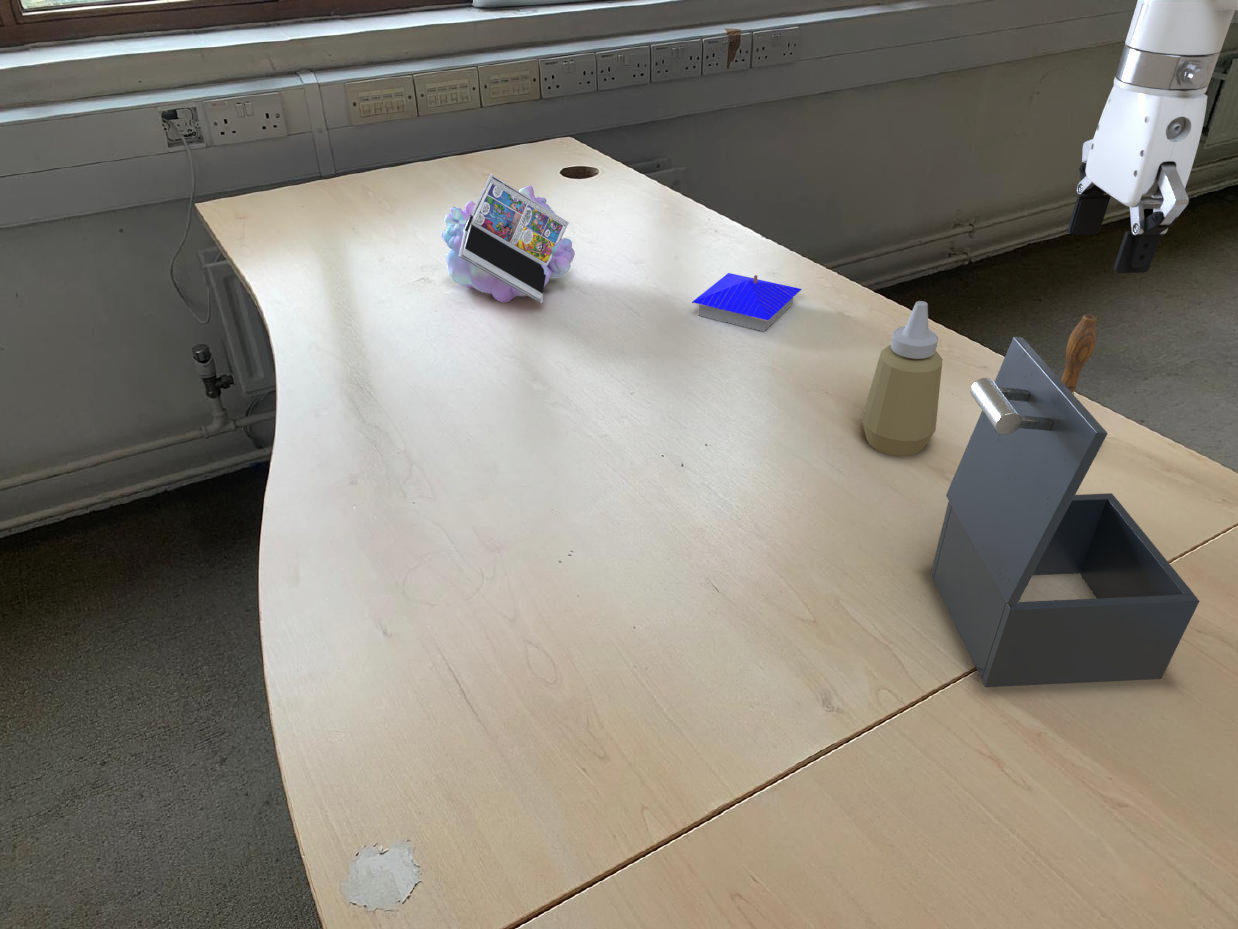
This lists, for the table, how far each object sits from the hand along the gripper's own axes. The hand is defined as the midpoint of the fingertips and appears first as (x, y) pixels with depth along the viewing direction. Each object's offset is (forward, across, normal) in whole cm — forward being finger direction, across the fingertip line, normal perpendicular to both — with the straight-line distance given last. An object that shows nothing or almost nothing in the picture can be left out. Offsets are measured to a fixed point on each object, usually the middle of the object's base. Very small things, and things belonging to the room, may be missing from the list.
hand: (1105, 251), depth 90 cm
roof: (+24, +37, +29) cm, 52 cm away
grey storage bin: (+23, -29, +14) cm, 40 cm away
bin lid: (+5, -29, +19) cm, 35 cm away
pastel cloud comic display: (+24, +49, +64) cm, 84 cm away
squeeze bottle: (+23, 0, +18) cm, 29 cm away
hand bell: (+23, 0, 0) cm, 23 cm away
